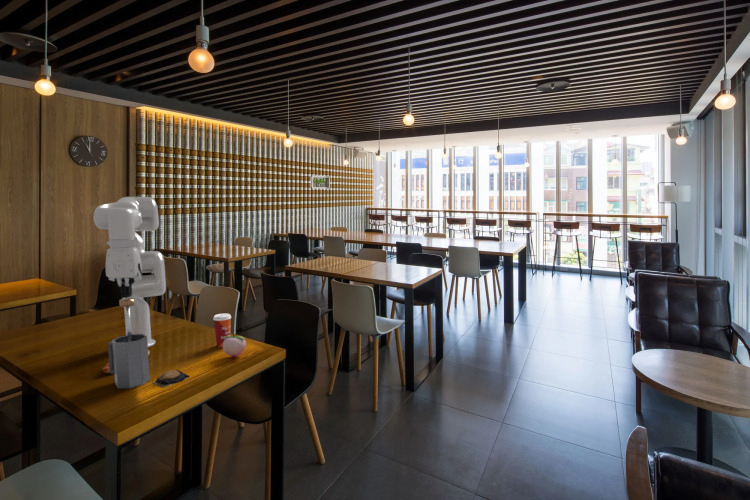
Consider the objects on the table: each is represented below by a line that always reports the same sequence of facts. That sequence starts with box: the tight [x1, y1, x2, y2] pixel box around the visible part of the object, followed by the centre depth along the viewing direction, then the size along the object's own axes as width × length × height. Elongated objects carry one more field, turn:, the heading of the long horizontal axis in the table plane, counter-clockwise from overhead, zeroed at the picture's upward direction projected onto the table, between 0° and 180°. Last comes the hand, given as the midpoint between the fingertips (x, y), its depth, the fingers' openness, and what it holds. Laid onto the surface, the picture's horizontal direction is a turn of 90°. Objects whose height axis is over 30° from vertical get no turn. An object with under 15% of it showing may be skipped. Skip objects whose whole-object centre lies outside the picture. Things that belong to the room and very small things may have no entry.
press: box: [107, 334, 151, 389], centre depth 137 cm, size 12×10×16 cm
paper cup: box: [212, 313, 232, 349], centre depth 174 cm, size 8×8×14 cm
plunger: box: [118, 298, 135, 342], centre depth 136 cm, size 8×8×18 cm
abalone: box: [152, 369, 191, 389], centre depth 140 cm, size 11×8×4 cm
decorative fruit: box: [222, 333, 247, 358], centre depth 160 cm, size 9×8×10 cm
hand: (126, 296), depth 135 cm, fingers closed
